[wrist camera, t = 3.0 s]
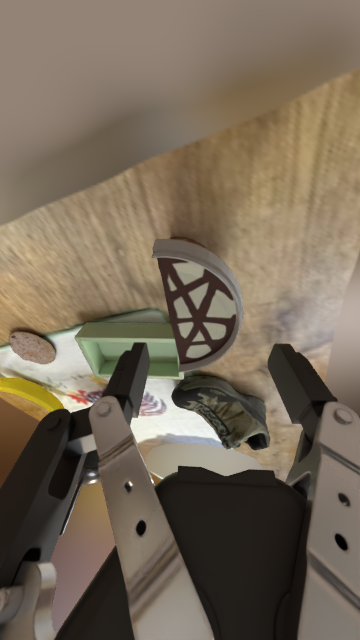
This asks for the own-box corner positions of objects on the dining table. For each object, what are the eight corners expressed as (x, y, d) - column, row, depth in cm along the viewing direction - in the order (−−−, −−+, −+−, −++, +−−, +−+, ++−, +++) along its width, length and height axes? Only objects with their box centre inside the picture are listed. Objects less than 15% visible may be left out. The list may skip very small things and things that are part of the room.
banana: (77, 403, 43) (62, 431, 38) (-12, 368, 36) (-45, 397, 31) (82, 398, 41) (66, 427, 36) (-10, 361, 35) (-45, 390, 29)
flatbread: (16, 322, 28) (11, 326, 27) (63, 345, 30) (60, 349, 30) (7, 348, 32) (2, 352, 31) (50, 367, 34) (46, 371, 33)
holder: (183, 322, 26) (182, 338, 23) (184, 362, 31) (183, 379, 29) (86, 322, 27) (73, 337, 24) (103, 361, 32) (95, 377, 30)
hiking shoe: (185, 364, 32) (183, 418, 24) (277, 397, 36) (298, 451, 29) (167, 387, 36) (160, 438, 29) (250, 414, 41) (263, 464, 34)
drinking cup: (110, 383, 37) (46, 532, 21) (137, 399, 40) (99, 538, 24) (89, 394, 40) (21, 531, 24) (116, 408, 43) (71, 537, 27)
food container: (226, 313, 25) (242, 373, 17) (183, 317, 25) (179, 375, 17) (228, 213, 17) (259, 232, 9) (168, 222, 18) (149, 247, 10)
